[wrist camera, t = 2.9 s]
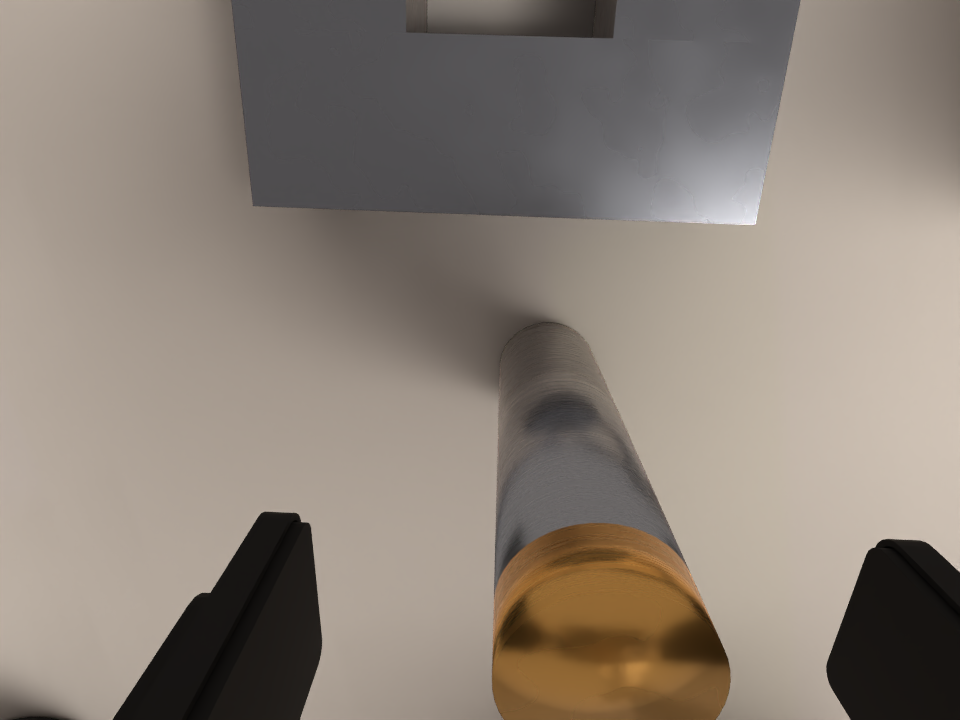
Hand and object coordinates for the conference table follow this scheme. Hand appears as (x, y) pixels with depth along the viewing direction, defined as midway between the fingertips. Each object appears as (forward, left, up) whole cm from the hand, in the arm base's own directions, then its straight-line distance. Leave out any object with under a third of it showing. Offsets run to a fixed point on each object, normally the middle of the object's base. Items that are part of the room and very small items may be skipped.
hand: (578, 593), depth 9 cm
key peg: (0, +1, -12) cm, 12 cm away
